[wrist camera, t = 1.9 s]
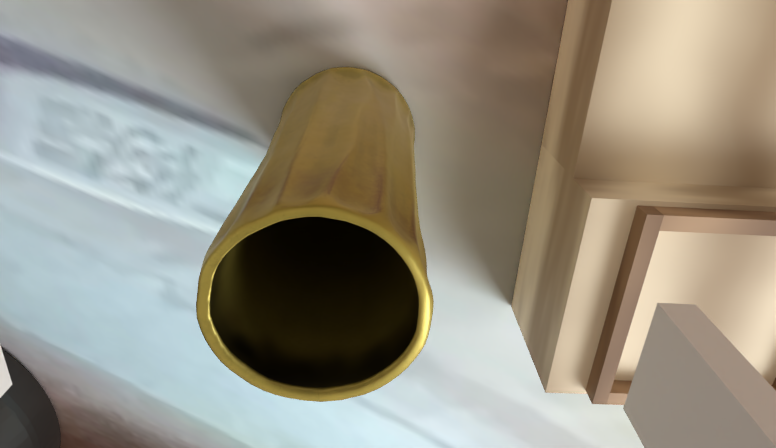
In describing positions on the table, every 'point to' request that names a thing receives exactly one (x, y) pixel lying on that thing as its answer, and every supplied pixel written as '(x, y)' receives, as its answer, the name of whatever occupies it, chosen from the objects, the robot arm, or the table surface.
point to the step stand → (652, 188)
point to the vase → (324, 249)
